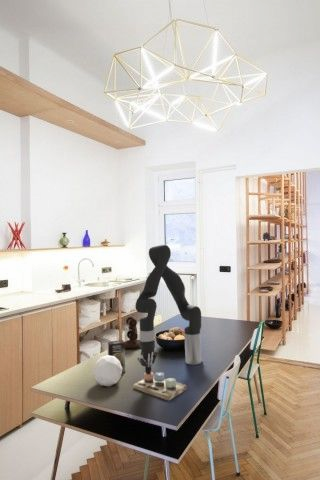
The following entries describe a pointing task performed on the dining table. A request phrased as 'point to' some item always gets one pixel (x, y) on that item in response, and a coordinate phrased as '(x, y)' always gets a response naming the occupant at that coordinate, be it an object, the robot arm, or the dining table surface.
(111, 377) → the geometric shape
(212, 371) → the dining table surface
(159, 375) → the three dot button
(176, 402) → the dining table surface
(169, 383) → the pale green button
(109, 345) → the coffee box
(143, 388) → the button board
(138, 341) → the dark brown tall piece
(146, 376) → the two dot button
